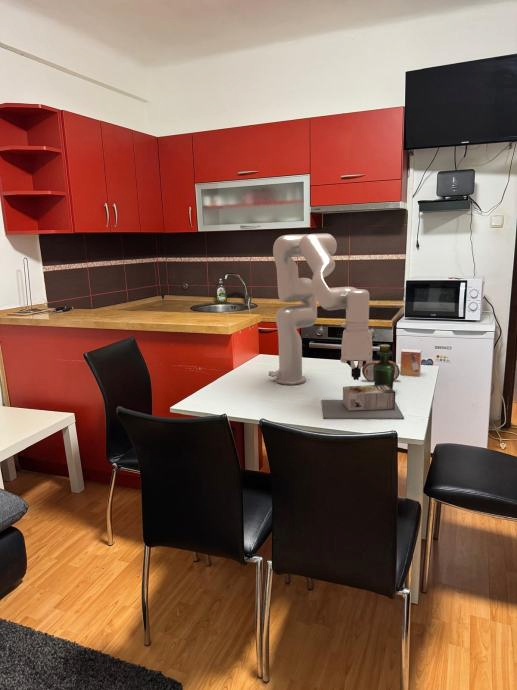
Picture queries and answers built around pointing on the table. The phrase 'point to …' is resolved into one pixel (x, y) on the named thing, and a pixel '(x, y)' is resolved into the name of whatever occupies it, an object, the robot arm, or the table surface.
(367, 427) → the table surface
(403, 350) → the small box
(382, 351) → the potion bottle
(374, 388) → the coffee box
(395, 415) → the mat
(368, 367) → the tin
